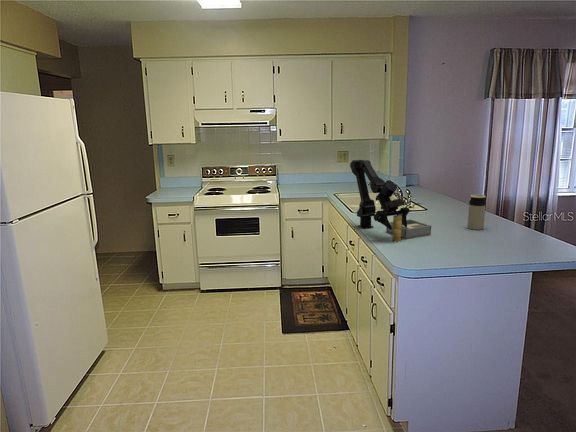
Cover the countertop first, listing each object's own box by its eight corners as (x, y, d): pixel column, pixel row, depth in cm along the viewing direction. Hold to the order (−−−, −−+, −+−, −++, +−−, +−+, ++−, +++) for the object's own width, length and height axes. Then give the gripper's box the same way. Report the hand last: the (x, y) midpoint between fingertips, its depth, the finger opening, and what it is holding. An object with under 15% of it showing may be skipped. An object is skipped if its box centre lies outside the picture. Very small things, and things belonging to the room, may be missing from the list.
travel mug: (485, 230, 217) (488, 197, 213) (469, 230, 218) (471, 197, 214) (481, 226, 224) (484, 194, 220) (465, 226, 226) (468, 194, 222)
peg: (390, 240, 204) (391, 216, 201) (397, 239, 206) (398, 215, 203) (396, 242, 200) (396, 217, 198) (402, 241, 202) (403, 216, 199)
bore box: (386, 231, 219) (386, 222, 218) (410, 228, 225) (410, 219, 224) (405, 239, 205) (406, 229, 204) (430, 235, 211) (431, 225, 210)
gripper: (377, 194, 198) (390, 221, 190) (408, 191, 205) (422, 217, 197) (367, 207, 207) (380, 233, 199) (397, 204, 214) (411, 229, 206)
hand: (398, 228), depth 200 cm, fingers open, 9 cm apart
